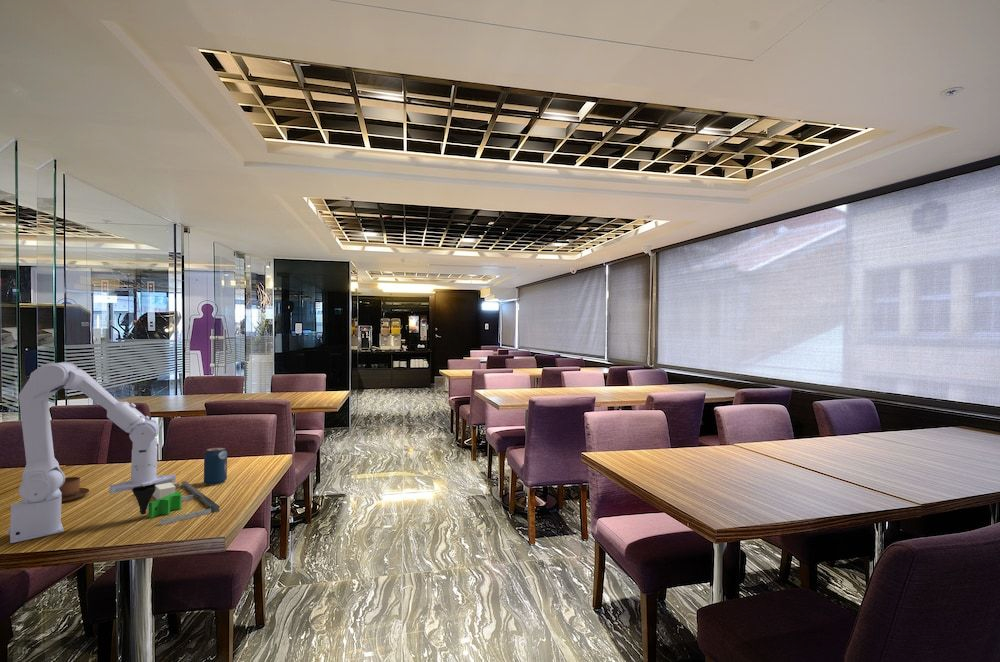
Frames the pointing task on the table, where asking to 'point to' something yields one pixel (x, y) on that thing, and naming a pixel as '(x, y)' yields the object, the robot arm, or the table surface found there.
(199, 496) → the grey pronged frame
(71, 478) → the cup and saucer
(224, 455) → the soda can
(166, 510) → the pipe clamp
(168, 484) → the seated block
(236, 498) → the table surface
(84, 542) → the table surface
